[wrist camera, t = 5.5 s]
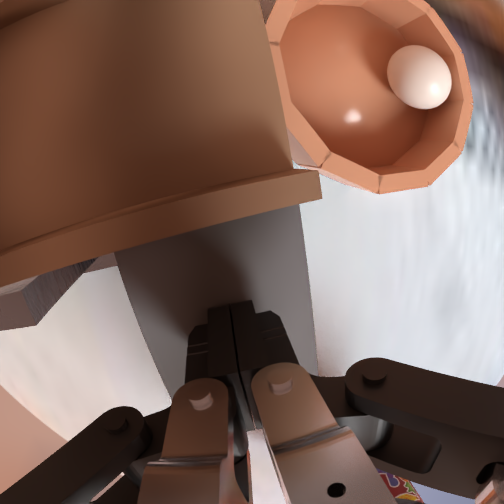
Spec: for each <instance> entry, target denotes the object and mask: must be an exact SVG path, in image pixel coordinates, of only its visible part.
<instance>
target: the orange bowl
mask: <svg viewBox="0 0 504 504" xmlns="http://www.w3.org/2000/svg"><path fill="white" fill-rule="evenodd" d="M265 26H266V31H267V35H268V40H269V44H270V48H271V53H272V58H273V62H274V67H275V72H276V77H277V81H278V86H279V91H280V96H281V102H282V107H283V112H284V117H285V123H286V128H287V134H288V139H289V145H290V151H291V157H292V160H293V161H294V162H295V163H297V164H298V165H299V166H302V167H304V168H307V169H309V170H318V171H319V174H321V175H324V176H326V177H329V178H331V179H333V180H336V181H338V182H340V183H343V184H345V185H348V186H352V187H355V188H359V189H362V190H366V191H369V192H372V193H376V194H384V193H390V192H396V191H402V190H408V189H415V188H421V187H428V185H431V184H432V183H433V182H434V181H435V180H436V179H437V178H438V177H439V176H440V175H441V174H442V173H443V172H444V171H445V170H446V169H447V168H448V167H449V166H450V165H451V164H452V163H453V162H454V161H455V160H456V159H457V158H458V157H459V155H460V154H461V151H463V148H464V144H465V140H466V136H467V132H468V128H469V124H470V119H471V115H472V110H473V105H472V104H471V103H473V98H472V92H471V87H470V82H469V77H468V72H467V68H466V64H465V59H464V55H463V54H462V53H461V52H462V50H461V49H460V47H459V46H458V44H457V42H456V41H455V39H454V38H453V36H452V35H451V33H450V32H449V30H448V29H447V27H446V26H445V24H444V23H443V22H442V20H441V19H440V17H439V16H438V15H437V13H436V12H435V10H434V9H433V8H430V5H429V4H428V3H426V2H425V1H423V0H276V2H275V4H274V6H273V9H272V11H271V13H270V15H269V17H268V19H267V22H266V24H265ZM409 45H419V46H424V47H427V48H429V49H431V50H433V51H434V52H436V53H437V54H438V55H439V56H440V57H441V58H442V59H443V60H444V61H445V63H446V64H447V66H448V68H449V71H450V74H451V79H452V85H451V90H450V93H449V95H448V97H447V99H446V100H445V101H444V102H443V103H442V104H440V105H439V106H437V107H434V108H431V109H418V108H414V107H412V106H409V105H407V104H406V103H404V102H403V101H401V100H400V99H399V98H398V97H397V96H396V95H395V93H394V92H393V90H392V89H391V87H390V84H389V81H388V77H387V67H388V63H389V60H390V58H391V57H392V55H393V54H394V53H395V52H396V51H397V50H399V49H401V48H403V47H405V46H409Z"/></svg>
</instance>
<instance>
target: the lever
mask: <svg viewBox="0 0 504 504" xmlns="http://www.w3.org/2000/svg"><path fill="white" fill-rule="evenodd" d="M318 199H322V193H321V185H320V178H319V171H318V170H306V169H293V163H292V157H291V151H290V145H289V139H288V134H287V128H286V123H285V117H284V112H283V107H282V102H281V96H280V91H279V86H278V81H277V77H276V72H275V67H274V62H273V58H272V53H271V48H270V44H269V40H268V35H267V31H266V26H265V22H264V18H263V14H262V10H261V6H260V2H259V0H0V288H1V287H4V286H7V285H10V284H13V283H16V282H19V281H22V280H25V279H28V278H31V277H34V276H37V275H41V274H44V273H47V272H50V271H53V270H56V269H60V268H63V267H66V266H69V265H73V264H76V263H79V262H83V261H86V260H89V259H93V258H96V257H99V256H103V255H106V254H110V253H113V252H114V255H115V258H116V261H117V264H118V268H119V271H120V274H121V277H122V280H123V283H124V285H125V288H126V291H127V294H128V297H129V300H130V302H131V305H132V308H133V310H134V313H135V316H136V318H137V321H138V324H139V326H140V329H141V331H142V334H143V336H144V339H145V341H146V344H147V346H148V348H149V351H150V353H151V355H152V358H153V360H154V362H155V365H156V367H157V369H158V371H159V374H160V376H161V378H162V380H163V382H164V384H165V387H166V389H167V391H168V393H169V395H170V397H171V399H173V396H174V394H175V392H176V391H177V390H178V389H179V388H180V387H181V386H183V385H184V382H185V369H186V357H187V347H188V336H189V334H190V333H191V331H192V330H193V328H194V327H195V326H197V325H202V324H208V309H209V308H214V307H219V306H223V305H228V304H229V305H230V309H231V304H233V303H237V302H242V301H247V300H252V302H253V306H254V309H255V313H260V312H265V311H269V310H271V311H272V312H274V313H275V314H277V315H278V316H280V318H281V320H282V323H283V325H284V328H285V330H286V332H287V335H288V337H289V340H290V342H291V345H292V347H293V349H294V352H295V354H296V357H297V359H298V362H299V364H300V366H302V367H303V368H304V369H306V371H307V372H308V373H310V374H312V375H315V376H318V366H317V354H316V342H315V331H314V321H313V311H312V302H311V293H310V284H309V275H308V267H307V259H306V251H305V244H304V236H303V229H302V222H301V214H300V208H299V204H301V203H305V202H310V201H314V200H318ZM231 313H232V311H231Z"/></svg>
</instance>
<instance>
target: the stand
mask: <svg viewBox="0 0 504 504" xmlns="http://www.w3.org/2000/svg"><path fill="white" fill-rule="evenodd" d="M117 265H118V264H117V261H116V258H115V255H114V252H113V253H110V254H106V255H103V256H99V257H96V258H93V259H89V260H86V261H83V262H79V263H76V264H73V265H69V266H66V267H63V268H60V269H56V270H53V271H50V272H47V273H44V274H41V275H37V276H34V277H31V278H28V279H25V280H22V281H19V282H16V283H13V284H10V285H7V286H4V287H1V288H0V331H2V330H9V329H16V328H23V327H29V326H36V325H37V324H38V323H39V322H40V321H41V319H42V318H43V317H44V316H45V315H46V314H47V312H48V311H49V310H50V309H51V308H52V307H53V306H54V304H55V303H56V302H57V301H58V300H59V299H60V298H61V297H62V295H63V294H64V293H65V292H66V291H67V290H68V289H69V288H70V287H71V286H72V285H73V283H74V282H75V281H76V280H77V279H78V278H79V277H80V276H81V275H82V274H83V273H87V272H91V271H95V270H100V269H104V268H108V267H113V266H117Z"/></svg>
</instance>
